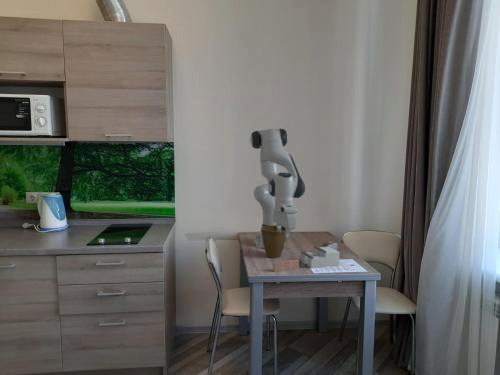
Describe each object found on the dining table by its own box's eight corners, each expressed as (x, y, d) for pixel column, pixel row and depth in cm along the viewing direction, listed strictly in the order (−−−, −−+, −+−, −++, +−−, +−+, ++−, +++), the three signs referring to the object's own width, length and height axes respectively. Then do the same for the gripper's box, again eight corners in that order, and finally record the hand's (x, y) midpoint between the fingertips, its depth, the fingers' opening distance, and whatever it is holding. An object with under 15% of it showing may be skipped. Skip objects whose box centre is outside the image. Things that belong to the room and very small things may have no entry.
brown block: (273, 270, 164) (273, 261, 164) (297, 268, 168) (297, 259, 168) (274, 272, 163) (274, 262, 162) (298, 269, 167) (299, 260, 166)
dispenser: (301, 261, 179) (301, 246, 178) (327, 259, 184) (328, 244, 183) (311, 268, 168) (311, 252, 167) (339, 265, 173) (339, 249, 172)
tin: (333, 252, 196) (334, 238, 195) (338, 253, 194) (339, 239, 193) (320, 258, 185) (320, 243, 184) (325, 259, 183) (325, 244, 182)
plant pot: (265, 261, 179) (266, 231, 177) (257, 253, 193) (257, 226, 192) (291, 259, 183) (292, 230, 182) (281, 251, 197) (282, 224, 196)
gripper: (270, 203, 172) (269, 229, 173) (286, 210, 152) (285, 240, 154) (281, 202, 174) (280, 229, 175) (299, 209, 154) (298, 239, 156)
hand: (283, 234), depth 164 cm, fingers open, 8 cm apart
